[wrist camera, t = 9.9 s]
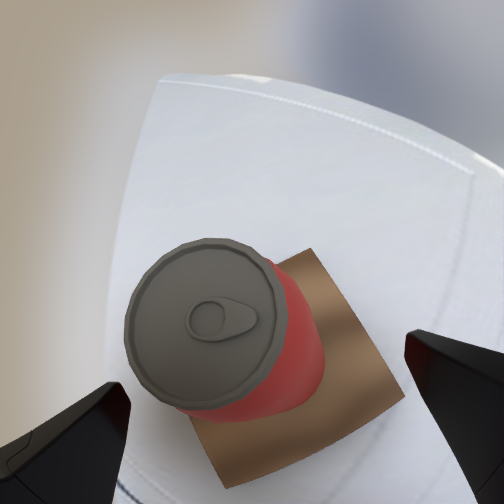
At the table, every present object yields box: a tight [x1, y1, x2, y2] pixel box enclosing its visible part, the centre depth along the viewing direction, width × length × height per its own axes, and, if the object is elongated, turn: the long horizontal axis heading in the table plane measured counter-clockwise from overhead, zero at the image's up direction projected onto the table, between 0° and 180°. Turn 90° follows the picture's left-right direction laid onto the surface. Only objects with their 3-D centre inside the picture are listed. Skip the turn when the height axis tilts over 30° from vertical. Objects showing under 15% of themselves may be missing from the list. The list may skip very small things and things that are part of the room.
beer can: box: [124, 238, 325, 423], centre depth 13 cm, size 7×7×12 cm
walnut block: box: [189, 248, 405, 489], centre depth 20 cm, size 14×14×2 cm
